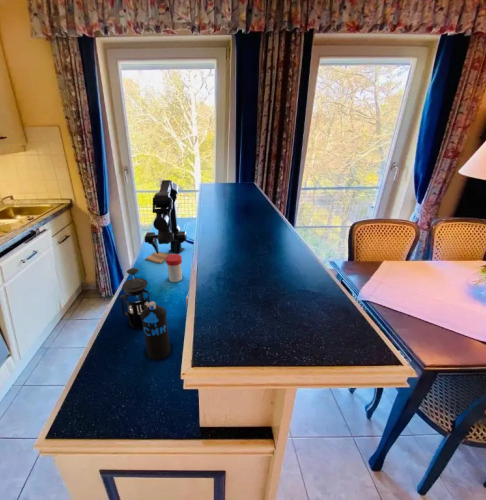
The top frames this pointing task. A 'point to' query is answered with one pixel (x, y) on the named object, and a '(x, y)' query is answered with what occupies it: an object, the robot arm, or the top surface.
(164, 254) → the cork mat
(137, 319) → the french press
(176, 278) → the jar
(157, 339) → the aerosol can
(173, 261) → the lid
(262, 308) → the top surface
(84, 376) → the top surface
